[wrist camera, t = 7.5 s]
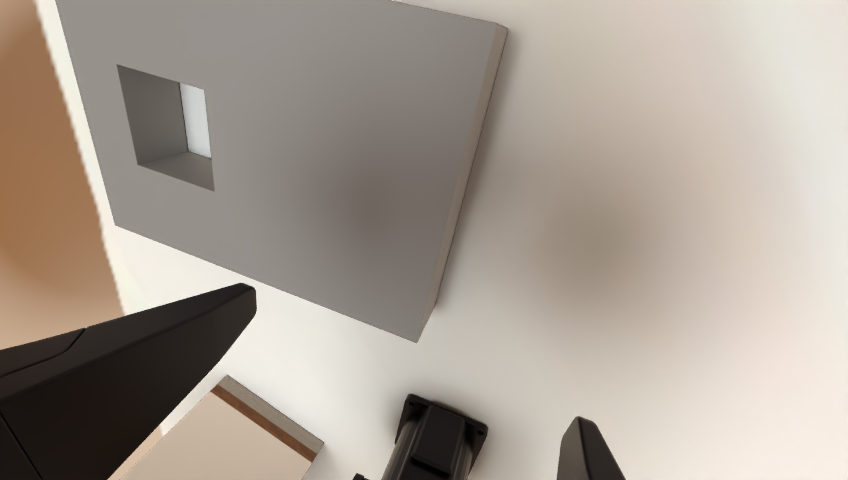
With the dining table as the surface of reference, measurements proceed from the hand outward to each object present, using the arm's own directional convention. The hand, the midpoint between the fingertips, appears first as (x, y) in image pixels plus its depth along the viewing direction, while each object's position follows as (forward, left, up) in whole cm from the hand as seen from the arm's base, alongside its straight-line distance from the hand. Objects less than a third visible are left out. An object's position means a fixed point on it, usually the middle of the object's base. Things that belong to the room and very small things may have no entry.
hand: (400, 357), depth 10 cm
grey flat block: (0, +12, -12) cm, 17 cm away
